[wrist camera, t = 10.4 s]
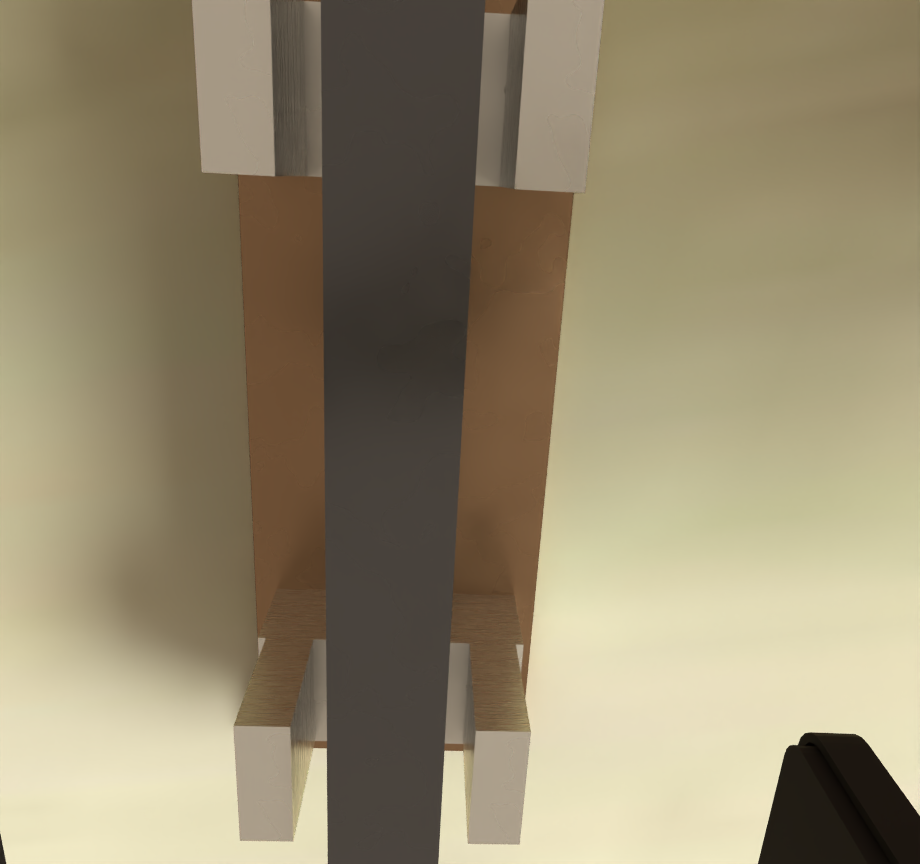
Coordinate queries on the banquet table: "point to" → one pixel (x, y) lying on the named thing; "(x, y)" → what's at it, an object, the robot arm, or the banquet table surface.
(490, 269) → the bracket
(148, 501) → the banquet table surface
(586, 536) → the banquet table surface
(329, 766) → the dark grey bar
